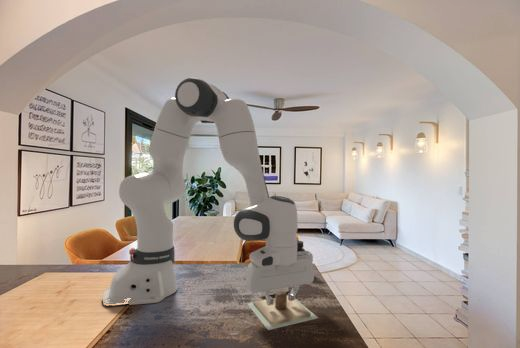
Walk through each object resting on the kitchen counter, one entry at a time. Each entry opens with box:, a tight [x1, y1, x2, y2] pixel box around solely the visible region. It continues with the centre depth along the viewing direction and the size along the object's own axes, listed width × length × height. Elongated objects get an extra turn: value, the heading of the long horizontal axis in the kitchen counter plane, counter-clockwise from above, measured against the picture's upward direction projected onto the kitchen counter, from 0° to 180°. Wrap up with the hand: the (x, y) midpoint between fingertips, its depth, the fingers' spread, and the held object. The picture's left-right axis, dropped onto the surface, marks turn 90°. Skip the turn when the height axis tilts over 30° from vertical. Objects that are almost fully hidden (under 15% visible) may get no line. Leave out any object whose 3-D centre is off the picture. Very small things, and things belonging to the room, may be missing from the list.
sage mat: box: [246, 298, 319, 331], centre depth 80 cm, size 15×15×1 cm
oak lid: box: [252, 291, 311, 326], centre depth 80 cm, size 12×12×5 cm
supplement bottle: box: [297, 240, 306, 252], centre depth 111 cm, size 7×7×12 cm
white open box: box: [256, 287, 290, 298], centre depth 95 cm, size 10×10×5 cm
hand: (280, 302), depth 80 cm, fingers open, 5 cm apart
